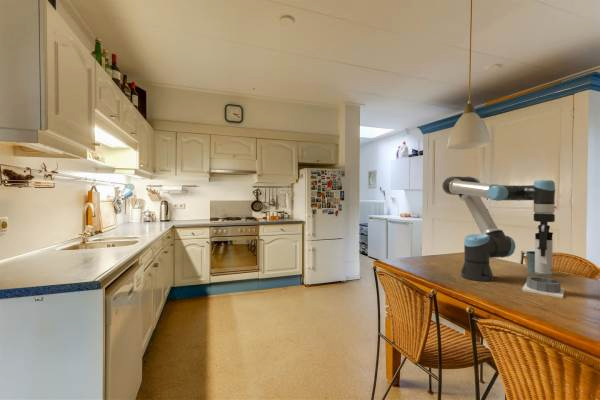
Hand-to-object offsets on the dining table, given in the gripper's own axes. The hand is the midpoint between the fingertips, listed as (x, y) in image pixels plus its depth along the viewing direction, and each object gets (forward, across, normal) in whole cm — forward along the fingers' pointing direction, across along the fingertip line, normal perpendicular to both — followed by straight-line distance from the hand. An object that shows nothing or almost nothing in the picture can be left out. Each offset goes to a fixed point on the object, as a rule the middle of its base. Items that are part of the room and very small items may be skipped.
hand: (543, 261), depth 132 cm
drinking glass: (+14, +37, +5) cm, 40 cm away
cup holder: (+14, 0, 0) cm, 14 cm away
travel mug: (+6, 0, 0) cm, 6 cm away
